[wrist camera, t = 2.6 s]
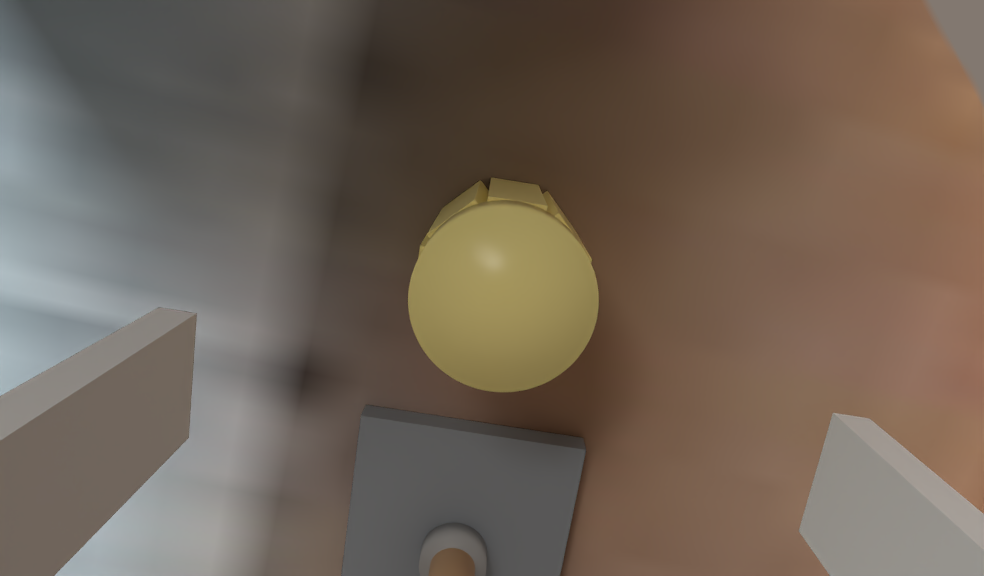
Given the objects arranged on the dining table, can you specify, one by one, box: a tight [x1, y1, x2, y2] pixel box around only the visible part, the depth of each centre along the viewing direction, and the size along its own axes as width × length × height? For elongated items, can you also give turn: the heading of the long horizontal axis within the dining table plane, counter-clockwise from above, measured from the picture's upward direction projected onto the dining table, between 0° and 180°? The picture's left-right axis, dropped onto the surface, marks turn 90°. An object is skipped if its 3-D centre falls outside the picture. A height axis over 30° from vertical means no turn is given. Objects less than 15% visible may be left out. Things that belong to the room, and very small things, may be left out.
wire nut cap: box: [408, 177, 599, 392], centre depth 27 cm, size 6×6×8 cm
